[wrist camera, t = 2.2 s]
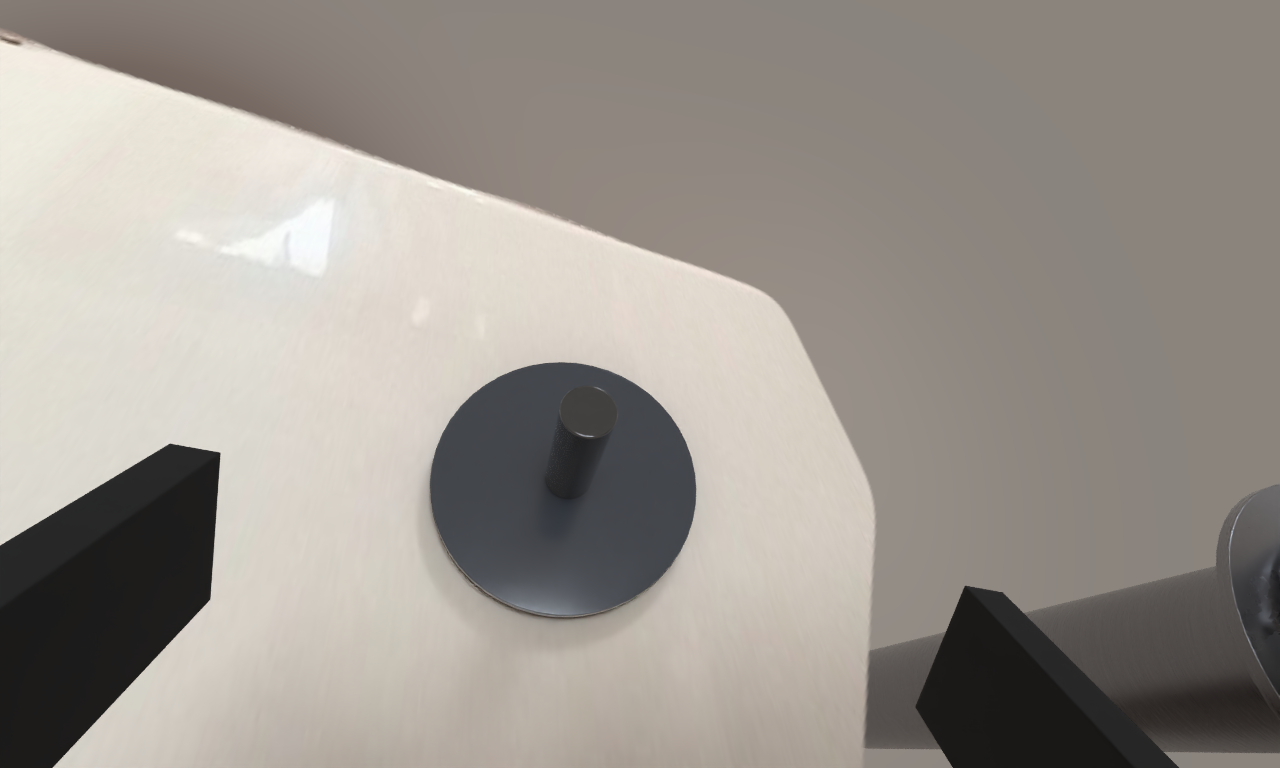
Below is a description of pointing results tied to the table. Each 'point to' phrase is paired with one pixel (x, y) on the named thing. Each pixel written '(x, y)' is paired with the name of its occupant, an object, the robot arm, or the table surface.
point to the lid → (562, 489)
